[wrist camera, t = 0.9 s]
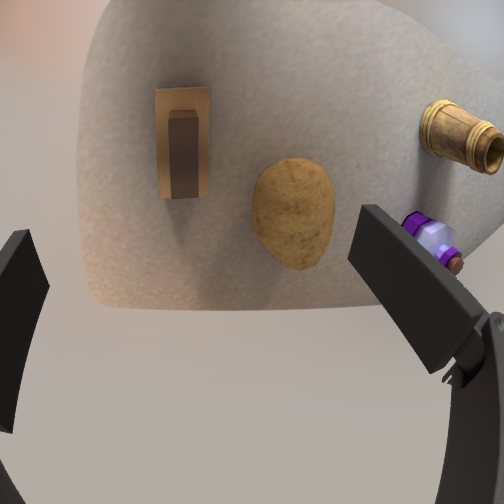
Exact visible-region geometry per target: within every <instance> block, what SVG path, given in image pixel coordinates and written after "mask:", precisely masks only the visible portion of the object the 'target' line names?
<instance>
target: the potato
mask: <svg viewBox="0 0 504 504" xmlns="http://www.w3.org/2000/svg"><path fill="white" fill-rule="evenodd" d="M334 212H335V196H334V190H333V187H332V185H331V182H330V180H329V178H328V176H327V175H326V173H325V172H324V170H323V169H322V167H321V166H320V165H318V164H316V163H314V162H312V161H310V160H308V159H306V158H285V159H283V160H281V161H279V162H277V163H275V164H273V165H271V166H270V167H268V168H266V169H265V171H264V172H263V174H262V175H261V177H260V178H259V180H258V181H257V183H256V187H255V191H254V196H253V210H252V226H253V228H254V231H255V234H256V237H257V238H258V240H259V241H260V242H261V243H262V245H263V246H264V247H265V248H266V249H267V250H268V251H269V252H270V253H271V254H272V255H273V256H274V257H275V259H276V260H277V261H279V262H280V263H282V264H283V265H285V266H286V267H288V268H292V269H296V270H300V271H302V270H305V269H307V268H310V267H312V266H315V265H316V264H317V263H318V261H319V260H320V259H321V257H322V256H323V255H324V253H325V252H326V249H327V246H328V243H329V240H330V236H331V232H332V227H333V221H334Z"/></svg>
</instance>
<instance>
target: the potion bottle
mask: <svg viewBox="0 0 504 504" xmlns="http://www.w3.org/2000/svg"><path fill="white" fill-rule="evenodd" d="M401 226H402V227H403V228H404V229H405V230H406V231H407V232H408V233H409V234H410V235H411V236H413V237H414V238H415V239H416V240H417V241H418V242H419V243H420V244H421V245H422V246H423V247H424V248H425V249H426V250H427V251H428V252H429V253H430V254H431V255H433V256H434V257H435V258H436V259H437V260H438V261H439V262H440V263H441V264H442V265H443V266H444V267H445V268H447V269H448V270H449V271H450V272H451V273H452V274H453V275H454V276H456V275H457V274H458V273H459V272H460V271H461V269H462V267H463V264H464V262H463V261H462V259H461V255H462V253H461V252H460V251H459V250H458V249H456V248H454V247H453V246H454V237H455V230H454V229H452V228H450V227H449V226H447V225H445V224H443V223H442V222H440V221H437V220H435V219H430V218H428V217H426V216H424V215H423V214H422V213H420V212H418V211H415V212H414V213H412V214H410V215H408V216H407V217H406V218H405V220H404V222H403V223H402V225H401Z"/></svg>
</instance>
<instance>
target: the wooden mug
mask: <svg viewBox="0 0 504 504" xmlns="http://www.w3.org/2000/svg"><path fill="white" fill-rule="evenodd" d="M420 138H421V142H422V145H423V147H424V149H425V150H426V151H427V152H428V153H429V154H432V155H434V156H438V157H445V158H447V159H450V160H453V161H456V162H459V163H461V164H464V165H467V166H469V167H470V168H471V169H472V170H474V171H477V172H479V173H486V174H488V175H493V174H495V173H496V172H497V171H498V170H499V167H500V165H501V163H502V160H503V156H504V136H503V135H502V134H501V133H500V132H498V131H497V129H496V128H495V127H494V126H493V125H491V124H490V123H489V122H487V121H480V120H479V119H477V118H475V117H474V116H472V115H470V114H468V113H467V112H465V111H463V110H462V109H461V108H460V107H459V106H458V105H456V104H454V103H452V102H449V101H447V100H445V99H444V100H438V101H435V102H434V103H432V104H431V105H430V106H429V107H428V108H427V109H426V111H425V112H424V114H423V117H422V120H421V126H420Z"/></svg>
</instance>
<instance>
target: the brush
mask: <svg viewBox="0 0 504 504" xmlns="http://www.w3.org/2000/svg"><path fill="white" fill-rule="evenodd" d="M209 112H210V88H209V87H207V86H189V87H169V88H158V89H157V90H156V91H155V125H156V150H157V168H158V183H159V195H160V199H168V198H171V199H181V198H195V197H199V196H208V164H209Z"/></svg>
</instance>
